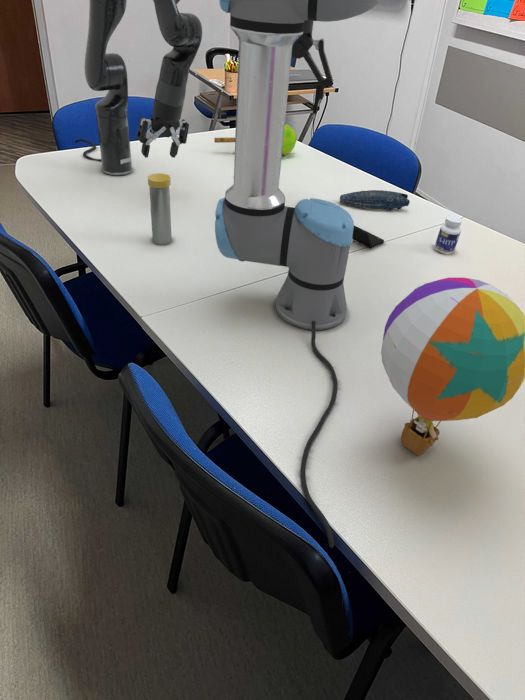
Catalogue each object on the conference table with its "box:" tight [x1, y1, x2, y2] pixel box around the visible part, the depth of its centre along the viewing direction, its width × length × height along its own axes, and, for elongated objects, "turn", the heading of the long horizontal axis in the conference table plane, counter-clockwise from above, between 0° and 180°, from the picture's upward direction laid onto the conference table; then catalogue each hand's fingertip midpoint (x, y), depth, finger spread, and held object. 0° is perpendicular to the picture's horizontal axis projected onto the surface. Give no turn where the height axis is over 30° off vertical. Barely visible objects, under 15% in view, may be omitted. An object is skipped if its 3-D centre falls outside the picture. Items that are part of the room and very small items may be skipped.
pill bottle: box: [434, 215, 463, 255], centre depth 137 cm, size 5×5×9 cm
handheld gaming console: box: [352, 224, 385, 250], centre depth 139 cm, size 12×7×10 cm
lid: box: [147, 172, 171, 188], centre depth 123 cm, size 5×5×2 cm
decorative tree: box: [213, 123, 298, 156], centre depth 186 cm, size 18×10×30 cm
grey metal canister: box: [148, 185, 173, 246], centre depth 128 cm, size 5×5×16 cm
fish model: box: [339, 189, 411, 211], centre depth 158 cm, size 7×21×5 cm, turn 84°
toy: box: [380, 277, 525, 456], centre depth 75 cm, size 20×20×30 cm
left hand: (158, 156), depth 147 cm, fingers open, 8 cm apart
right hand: (288, 109), depth 135 cm, fingers open, 13 cm apart
